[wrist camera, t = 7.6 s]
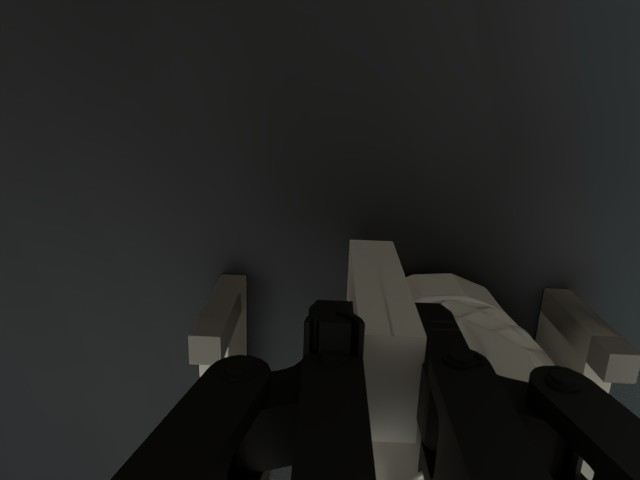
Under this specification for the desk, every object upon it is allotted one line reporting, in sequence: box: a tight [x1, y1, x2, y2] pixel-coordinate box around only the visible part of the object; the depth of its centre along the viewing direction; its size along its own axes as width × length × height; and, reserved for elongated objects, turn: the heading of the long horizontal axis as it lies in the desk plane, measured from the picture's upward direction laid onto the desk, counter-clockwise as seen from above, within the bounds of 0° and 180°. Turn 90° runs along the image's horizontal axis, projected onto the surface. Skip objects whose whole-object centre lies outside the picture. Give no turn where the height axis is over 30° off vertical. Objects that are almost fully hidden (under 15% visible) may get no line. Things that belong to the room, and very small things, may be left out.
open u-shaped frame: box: [188, 274, 640, 394], centre depth 21 cm, size 14×14×5 cm
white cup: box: [372, 273, 594, 480], centre depth 17 cm, size 8×8×10 cm
